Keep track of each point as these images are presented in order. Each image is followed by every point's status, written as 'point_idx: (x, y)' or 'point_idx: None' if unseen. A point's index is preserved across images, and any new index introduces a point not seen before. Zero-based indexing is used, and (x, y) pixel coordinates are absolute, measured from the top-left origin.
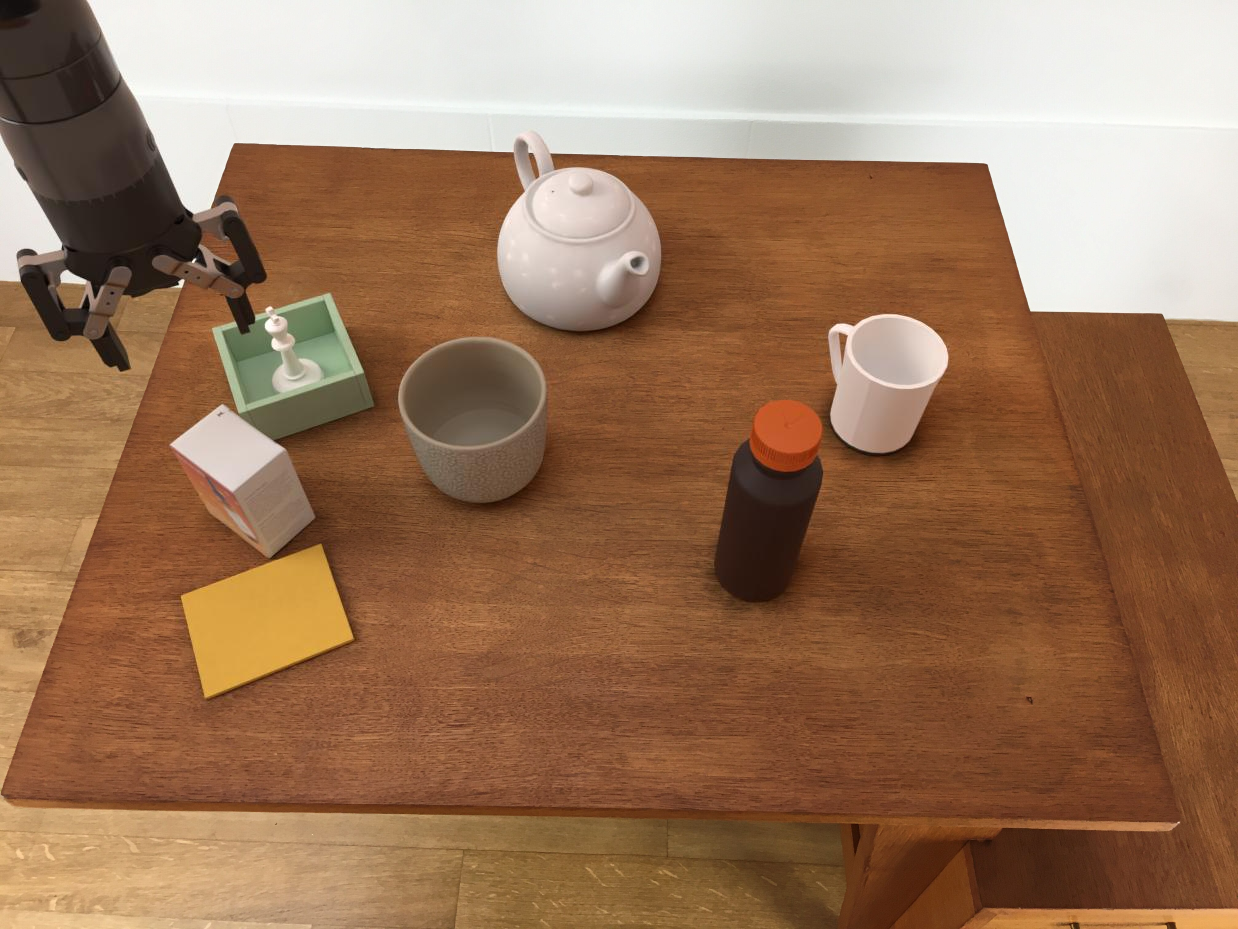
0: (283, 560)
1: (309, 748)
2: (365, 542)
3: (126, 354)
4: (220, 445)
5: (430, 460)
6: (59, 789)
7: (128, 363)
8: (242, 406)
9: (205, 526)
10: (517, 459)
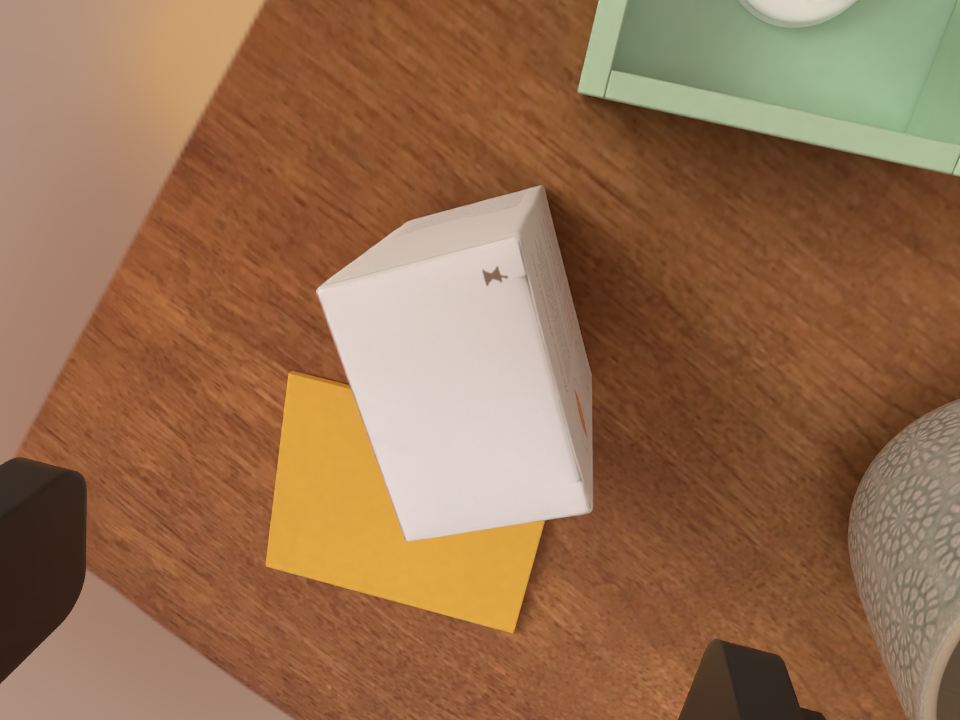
0: None
1: (373, 710)
2: (641, 485)
3: (68, 518)
4: (441, 391)
5: (886, 663)
6: None
7: (64, 590)
8: (599, 72)
9: None
10: None
